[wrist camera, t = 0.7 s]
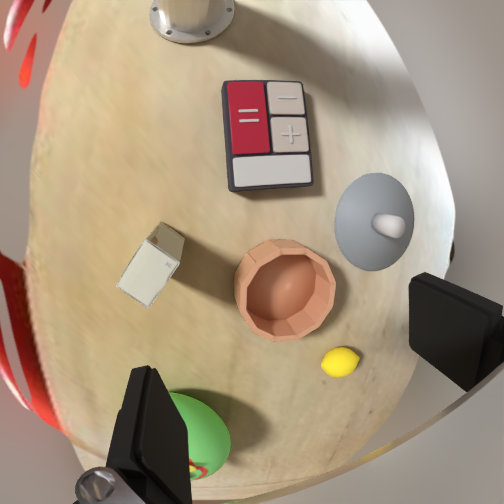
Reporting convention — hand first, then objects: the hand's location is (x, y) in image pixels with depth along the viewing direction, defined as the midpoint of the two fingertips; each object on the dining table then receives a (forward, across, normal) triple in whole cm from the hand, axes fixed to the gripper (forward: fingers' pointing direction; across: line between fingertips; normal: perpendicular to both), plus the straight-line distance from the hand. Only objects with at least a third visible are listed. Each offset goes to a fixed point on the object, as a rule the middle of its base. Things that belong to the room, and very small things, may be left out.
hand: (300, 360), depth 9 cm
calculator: (+33, -9, -11) cm, 36 cm away
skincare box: (+33, +9, 0) cm, 34 cm away
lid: (+33, -25, +6) cm, 42 cm away
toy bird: (+33, +17, +29) cm, 47 cm away
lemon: (+33, -13, +27) cm, 45 cm away
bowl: (+33, -6, +10) cm, 35 cm away
